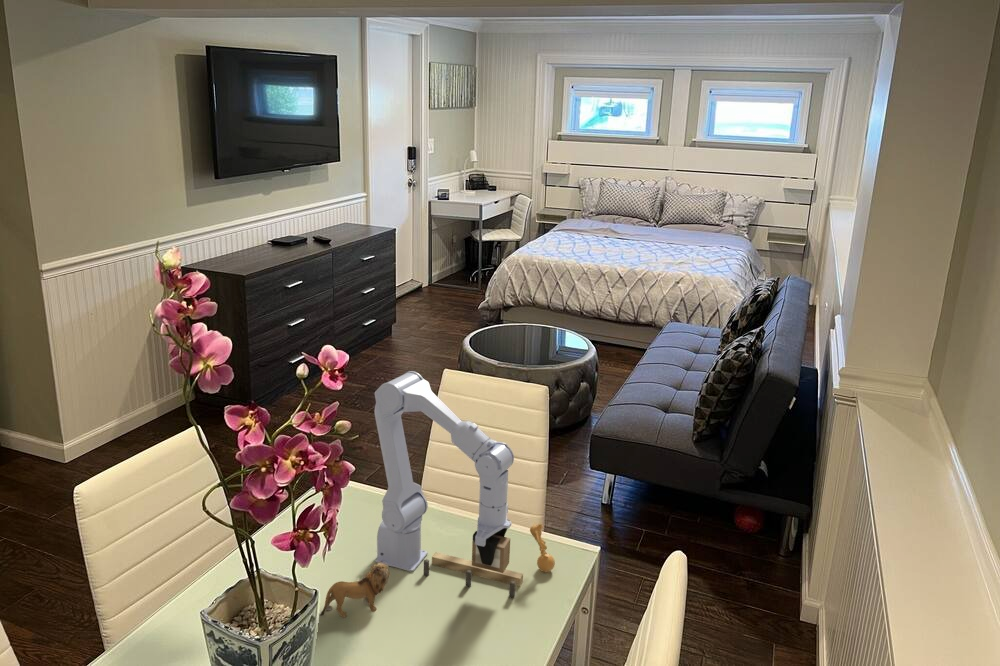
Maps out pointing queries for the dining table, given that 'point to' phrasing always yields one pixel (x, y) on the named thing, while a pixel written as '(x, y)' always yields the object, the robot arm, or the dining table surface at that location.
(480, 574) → the ledge
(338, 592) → the lion figurine
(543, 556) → the figurine
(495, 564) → the wooden box
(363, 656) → the dining table surface
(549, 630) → the dining table surface
